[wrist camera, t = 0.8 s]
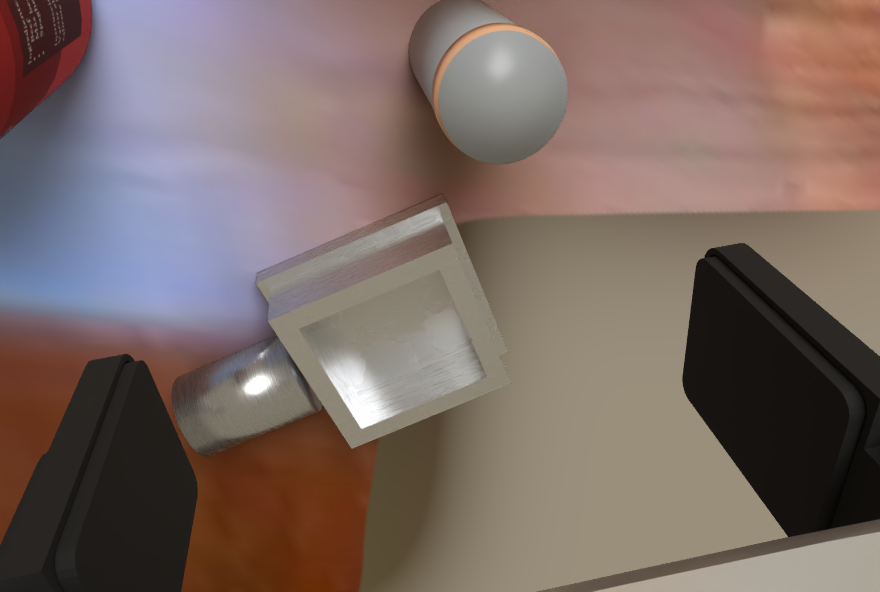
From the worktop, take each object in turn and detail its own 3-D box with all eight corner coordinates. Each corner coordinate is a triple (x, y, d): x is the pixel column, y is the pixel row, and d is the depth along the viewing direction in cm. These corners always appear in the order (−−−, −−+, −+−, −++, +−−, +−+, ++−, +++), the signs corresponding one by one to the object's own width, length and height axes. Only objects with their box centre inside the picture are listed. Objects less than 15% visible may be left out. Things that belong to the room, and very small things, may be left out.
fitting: (443, 193, 33) (461, 233, 29) (503, 342, 38) (525, 391, 35) (148, 319, 34) (129, 373, 30) (248, 447, 39) (243, 506, 35)
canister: (491, -25, 28) (551, 7, 21) (522, 78, 31) (584, 135, 24) (390, 20, 28) (417, 65, 22) (429, 119, 31) (464, 186, 24)
